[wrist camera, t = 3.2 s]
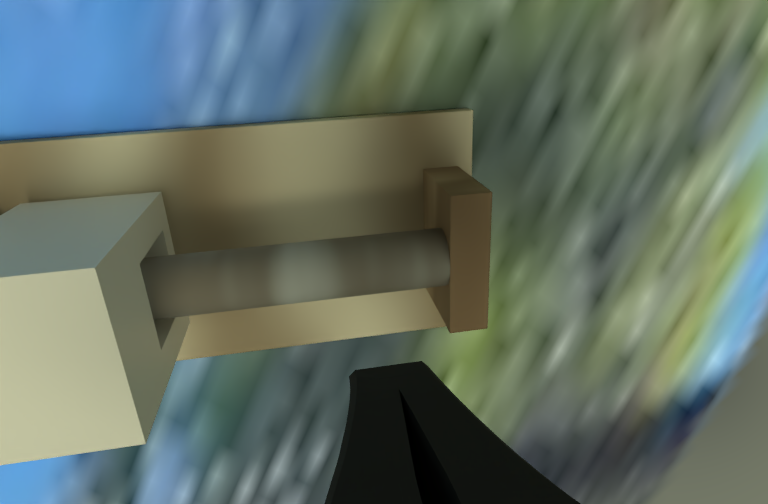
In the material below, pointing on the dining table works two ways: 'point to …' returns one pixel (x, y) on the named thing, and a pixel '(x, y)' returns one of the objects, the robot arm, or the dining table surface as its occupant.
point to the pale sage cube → (81, 326)
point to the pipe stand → (291, 223)
